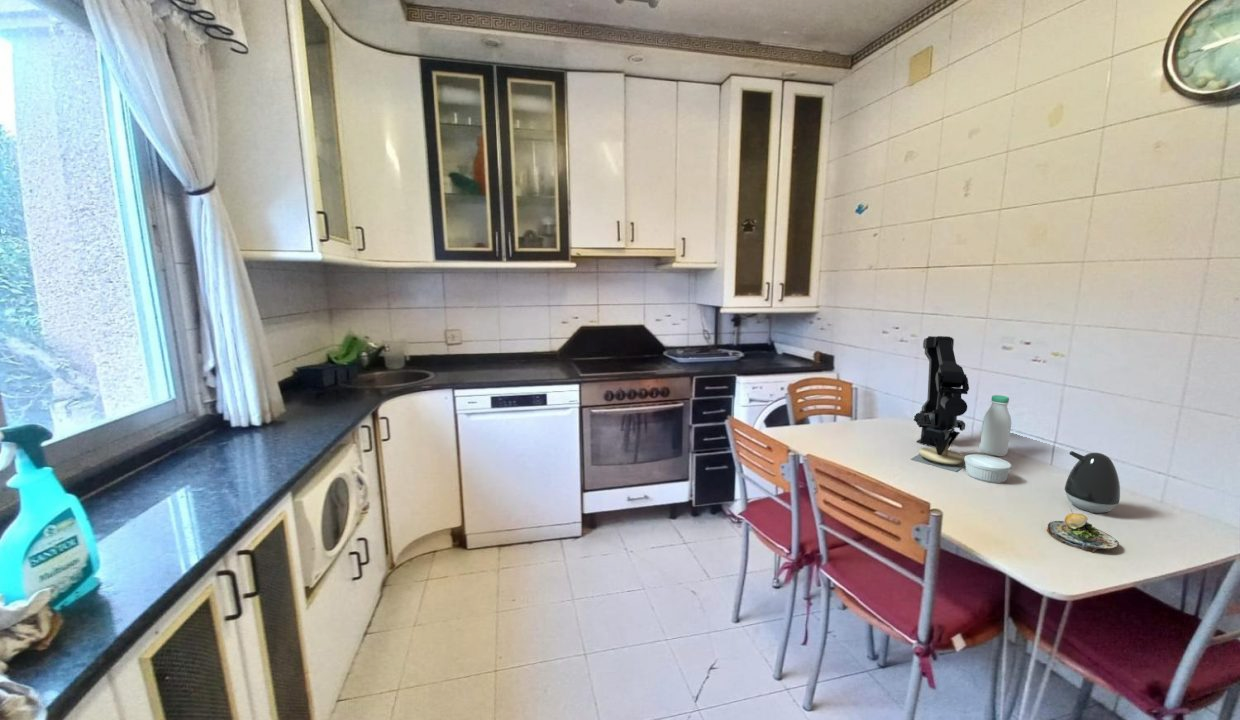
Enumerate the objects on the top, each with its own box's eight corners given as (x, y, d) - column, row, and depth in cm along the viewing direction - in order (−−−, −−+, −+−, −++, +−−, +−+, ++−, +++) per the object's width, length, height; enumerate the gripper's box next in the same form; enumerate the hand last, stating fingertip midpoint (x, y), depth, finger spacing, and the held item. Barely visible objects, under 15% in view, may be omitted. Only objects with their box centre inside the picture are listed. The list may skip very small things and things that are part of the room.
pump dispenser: (1062, 495, 130) (1071, 443, 128) (1116, 508, 123) (1126, 453, 120) (1059, 507, 123) (1069, 452, 121) (1117, 522, 116) (1128, 464, 113)
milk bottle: (1012, 456, 158) (1021, 399, 155) (989, 456, 159) (997, 399, 155) (995, 448, 166) (1003, 393, 163) (973, 448, 166) (980, 393, 163)
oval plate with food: (1101, 560, 101) (1107, 528, 99) (1035, 533, 111) (1040, 504, 110) (1128, 547, 105) (1135, 517, 104) (1063, 522, 116) (1068, 494, 115)
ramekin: (960, 477, 142) (962, 461, 141) (965, 466, 150) (967, 451, 149) (1007, 488, 135) (1010, 471, 134) (1010, 476, 143) (1012, 460, 142)
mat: (926, 450, 164) (926, 450, 164) (970, 462, 154) (970, 461, 154) (910, 459, 156) (910, 458, 156) (956, 472, 146) (956, 471, 146)
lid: (927, 447, 163) (929, 435, 162) (970, 458, 154) (971, 445, 153) (912, 455, 156) (914, 442, 155) (956, 467, 146) (958, 453, 145)
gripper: (930, 398, 164) (925, 440, 166) (907, 407, 153) (902, 452, 155) (968, 405, 155) (962, 449, 158) (947, 414, 144) (941, 463, 147)
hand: (941, 453), depth 154 cm, fingers closed on lid, 3 cm apart
